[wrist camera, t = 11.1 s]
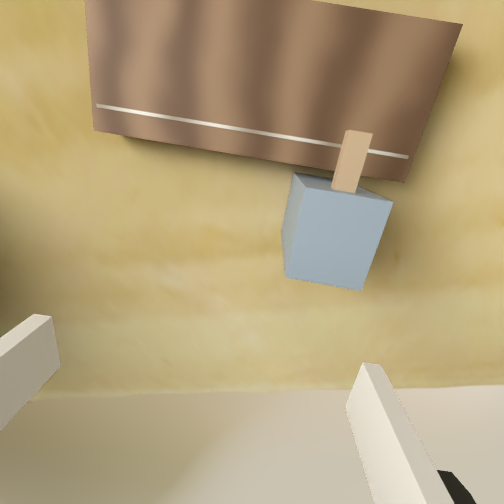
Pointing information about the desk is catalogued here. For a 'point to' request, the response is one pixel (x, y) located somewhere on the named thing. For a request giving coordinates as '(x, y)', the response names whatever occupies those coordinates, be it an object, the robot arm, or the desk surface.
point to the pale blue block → (334, 222)
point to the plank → (267, 77)
